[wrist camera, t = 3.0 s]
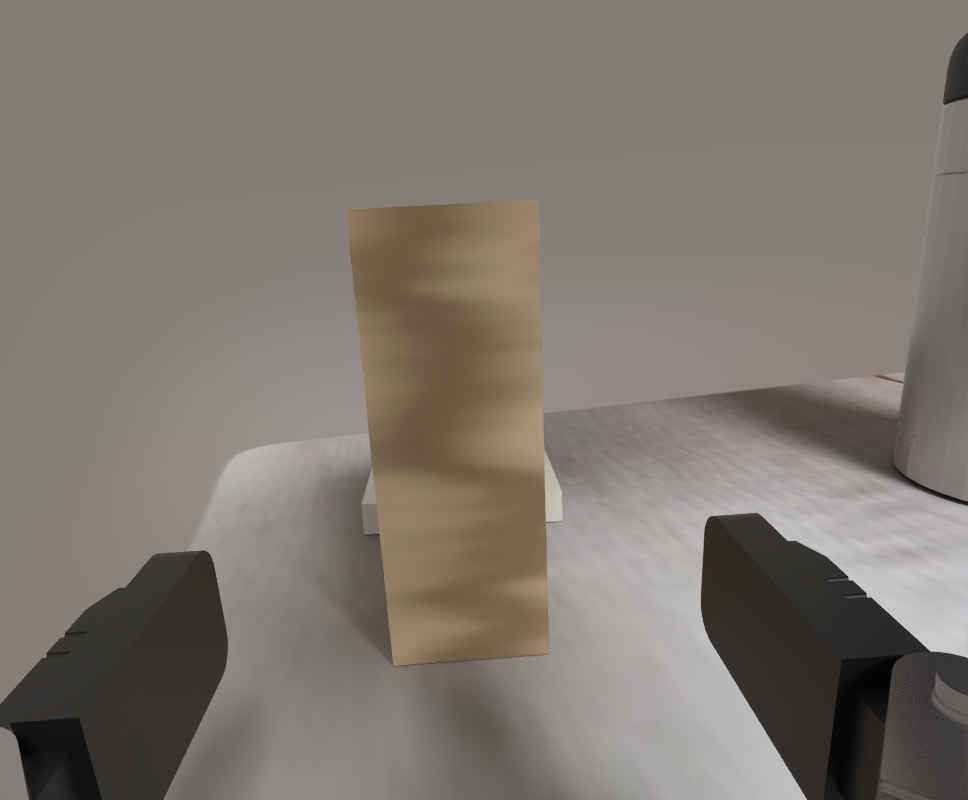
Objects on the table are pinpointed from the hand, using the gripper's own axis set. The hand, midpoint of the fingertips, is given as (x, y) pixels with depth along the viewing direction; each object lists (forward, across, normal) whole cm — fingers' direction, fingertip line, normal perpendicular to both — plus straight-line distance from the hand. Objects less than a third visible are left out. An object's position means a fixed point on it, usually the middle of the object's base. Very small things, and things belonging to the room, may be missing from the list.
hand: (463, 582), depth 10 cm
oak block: (+11, 0, +8) cm, 13 cm away
